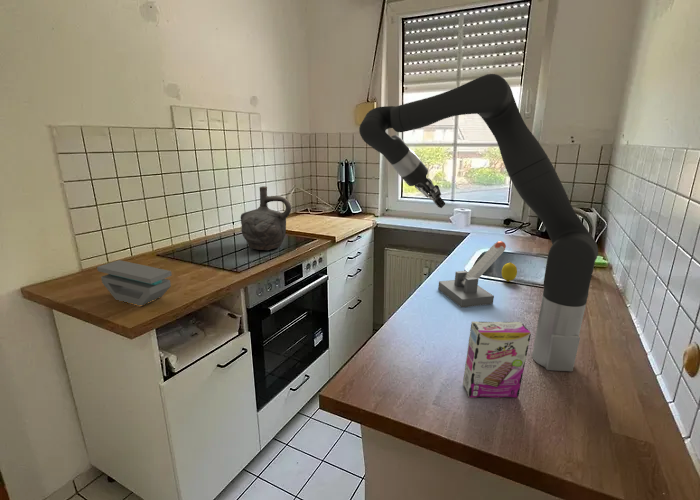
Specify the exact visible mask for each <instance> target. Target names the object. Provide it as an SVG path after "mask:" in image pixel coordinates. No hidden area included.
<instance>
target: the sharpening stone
mask: <svg viewBox="0 0 700 500" xmlns="http://www.w3.org/2000/svg"><path fill="white" fill-rule="evenodd" d="M96 269H97V272H100V273H104V274H105V275H102V276H101V277H100V278H101V283H102V285H103V286H104V287H105V288H106V289H107V291H108V292H109V293H110V294H111V296H112V297H113V298H114V299H115V300H119V301H118V302H120V301H124V302H128V303H133V304H137V305H144V304H146V303H148V302H150V301H152V300H155V299H157V298H159V297H161V298H162V297H163V296H164V295H165V294H166V292H167V291H168V290H169V289H170V288H171V287H172V286H171V285H172V284H171V280H170V279H167V278H170V277H171V276H172V275H173V274H172V270H168V269H163V268H157V267H154V266H150V265H144V264H139V263H134V262H131V261H130V262H129V261H124V260H122V259H119V260H114V261H112V262H108V263H106V264H102V265H98V266H96ZM159 299H160V298H159ZM157 300H158V299H157ZM155 301H156V300H155ZM124 302H123V303H124ZM150 303H151V302H150ZM148 304H149V303H148ZM146 305H147V304H146ZM144 306H145V305H144Z"/></svg>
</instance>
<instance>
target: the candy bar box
mask: <svg viewBox="0 0 700 500" xmlns="http://www.w3.org/2000/svg"><path fill="white" fill-rule="evenodd" d="M470 324H471V325H470V329H469V330H470V331H469V338H468V342H467V343H468V344H467V352H466V358H465V366H464V371H463V372H464V373H463V380H462V386H463V388H464V390H465V392H466V394H467V396H468V398H469V399H471V398H472V399H473V398H478V399H481V398H484V399H485V398H486V399H487V398H488V399H489V398H495V399H497V398H503V399H505V398H508V399H509V398H514V399H515V398H519V394H520V389H521V385H522V381H523V374H524V370H525V365H526V360H527V354H528V351H529V350H528V349H529V346H530V341H531V335H532V332H531V331H530V330H529V328H527V327H526V325H524V324H523V323H522V321H471V323H470Z"/></svg>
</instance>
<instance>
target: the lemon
mask: <svg viewBox="0 0 700 500" xmlns="http://www.w3.org/2000/svg"><path fill="white" fill-rule="evenodd" d="M517 274H518V269H517V266H516V265H515V264H514V263H512V262H510V261H509V262H508V263H505V264H503V266H502V269H501V277H502V278H503V279H504V280H505V281H506V282H510V281H513V280H515V279H516V277H517Z"/></svg>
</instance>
